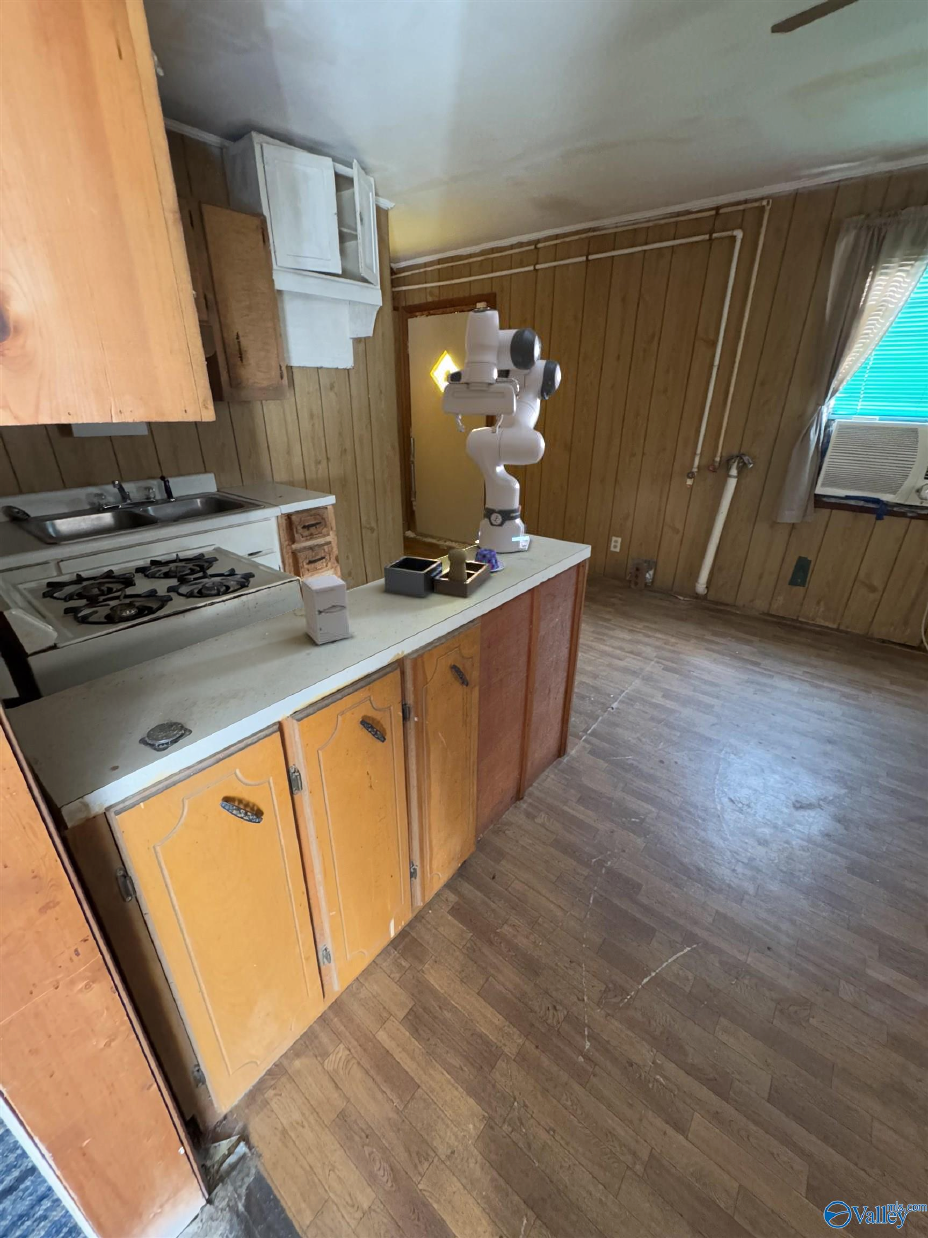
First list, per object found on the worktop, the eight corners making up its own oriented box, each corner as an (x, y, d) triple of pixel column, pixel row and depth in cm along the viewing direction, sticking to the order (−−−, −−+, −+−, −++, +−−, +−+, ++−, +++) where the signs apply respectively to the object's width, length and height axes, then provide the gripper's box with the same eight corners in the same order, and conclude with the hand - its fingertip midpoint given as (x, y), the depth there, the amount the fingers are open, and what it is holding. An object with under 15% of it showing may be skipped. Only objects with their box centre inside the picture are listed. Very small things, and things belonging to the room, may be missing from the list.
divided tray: (460, 572, 149) (460, 559, 148) (490, 576, 146) (490, 563, 144) (434, 592, 134) (433, 578, 133) (467, 597, 131) (467, 583, 129)
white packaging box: (318, 646, 105) (311, 589, 100) (306, 633, 110) (299, 578, 105) (351, 637, 109) (346, 582, 103) (339, 625, 114) (333, 572, 109)
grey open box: (405, 578, 144) (405, 555, 141) (442, 584, 140) (442, 560, 137) (385, 591, 134) (383, 567, 132) (424, 598, 130) (423, 573, 128)
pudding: (458, 566, 155) (458, 550, 153) (486, 559, 162) (486, 543, 160) (485, 576, 147) (486, 559, 144) (513, 567, 154) (514, 551, 152)
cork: (469, 585, 139) (470, 547, 135) (467, 593, 134) (468, 553, 129) (447, 584, 140) (447, 546, 135) (445, 592, 134) (444, 552, 130)
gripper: (520, 379, 134) (516, 434, 139) (447, 378, 139) (445, 431, 143) (517, 375, 128) (513, 433, 133) (440, 375, 133) (439, 430, 137)
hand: (477, 432), depth 138 cm, fingers open, 8 cm apart
